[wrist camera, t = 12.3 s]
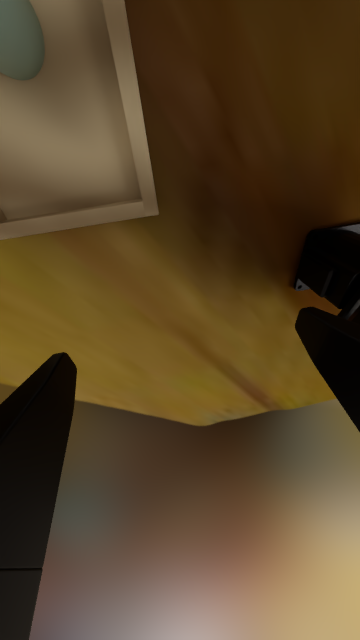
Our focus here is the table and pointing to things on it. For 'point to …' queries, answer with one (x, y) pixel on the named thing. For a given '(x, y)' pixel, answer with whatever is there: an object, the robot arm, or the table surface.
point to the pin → (20, 40)
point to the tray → (75, 126)
